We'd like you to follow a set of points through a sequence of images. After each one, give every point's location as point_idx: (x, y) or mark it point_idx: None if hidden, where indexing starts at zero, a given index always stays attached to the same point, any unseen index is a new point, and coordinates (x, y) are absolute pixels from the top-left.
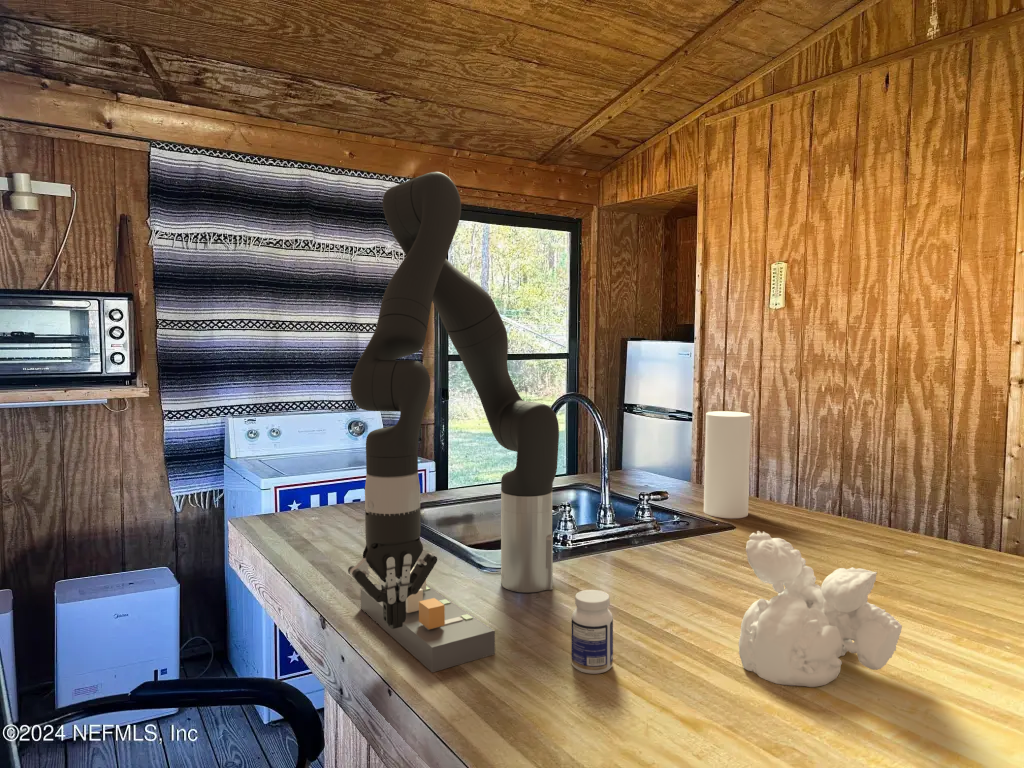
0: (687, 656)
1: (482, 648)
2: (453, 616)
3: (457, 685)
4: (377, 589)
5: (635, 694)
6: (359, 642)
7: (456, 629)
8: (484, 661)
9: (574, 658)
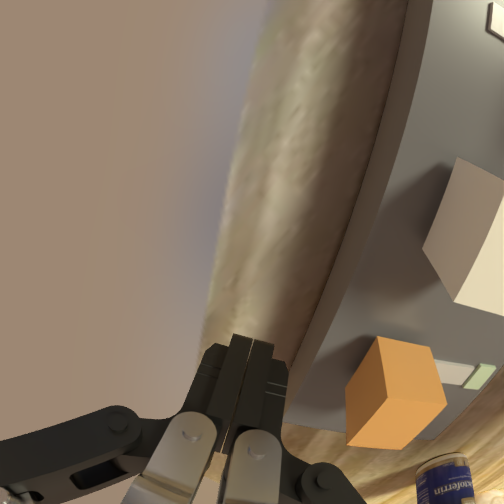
0: (487, 477)
1: None
2: (476, 350)
3: None
4: (102, 486)
5: (392, 496)
6: (262, 101)
7: None
8: None
9: (423, 476)
